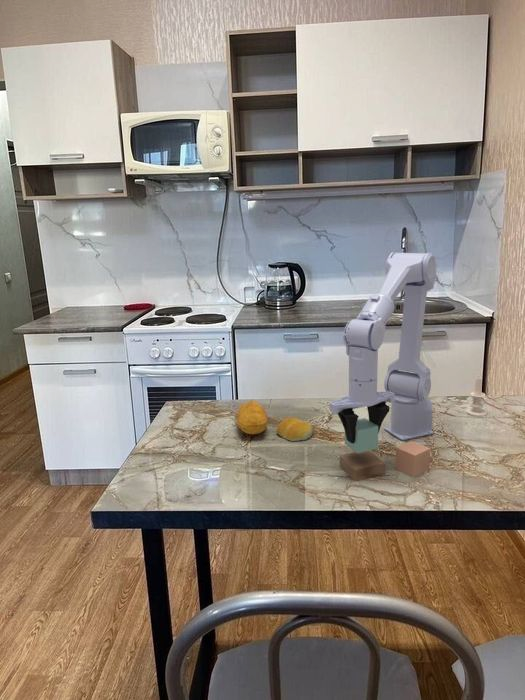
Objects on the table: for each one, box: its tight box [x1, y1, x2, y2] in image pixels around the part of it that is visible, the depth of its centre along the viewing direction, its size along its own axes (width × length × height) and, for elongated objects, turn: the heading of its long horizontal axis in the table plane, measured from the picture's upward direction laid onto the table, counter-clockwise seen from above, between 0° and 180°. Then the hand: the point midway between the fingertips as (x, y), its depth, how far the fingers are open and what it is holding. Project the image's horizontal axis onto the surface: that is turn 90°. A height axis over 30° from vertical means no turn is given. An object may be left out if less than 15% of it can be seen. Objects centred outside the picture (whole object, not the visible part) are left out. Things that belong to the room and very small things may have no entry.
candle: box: [465, 377, 488, 418], centre depth 138 cm, size 5×5×10 cm
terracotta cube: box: [394, 440, 431, 478], centre depth 111 cm, size 5×5×5 cm
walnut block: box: [339, 450, 386, 482], centre depth 112 cm, size 7×7×3 cm
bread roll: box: [276, 417, 314, 442], centre depth 131 cm, size 8×9×4 cm
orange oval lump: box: [236, 400, 268, 435], centre depth 133 cm, size 8×14×7 cm, turn 7°
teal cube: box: [344, 417, 379, 453], centre depth 110 cm, size 5×5×5 cm
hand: (362, 438), depth 110 cm, fingers closed on teal cube, 5 cm apart
